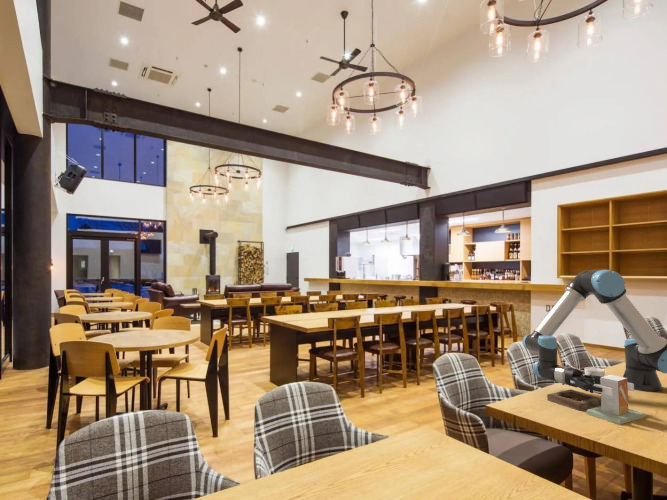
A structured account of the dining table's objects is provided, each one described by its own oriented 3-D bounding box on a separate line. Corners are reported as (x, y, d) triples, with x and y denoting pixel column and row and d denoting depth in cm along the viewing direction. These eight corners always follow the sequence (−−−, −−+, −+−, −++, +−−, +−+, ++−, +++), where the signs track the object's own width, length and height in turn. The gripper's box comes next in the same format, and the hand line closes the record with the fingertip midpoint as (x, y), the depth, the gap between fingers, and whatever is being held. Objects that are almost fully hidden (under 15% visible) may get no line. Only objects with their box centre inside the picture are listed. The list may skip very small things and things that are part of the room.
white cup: (605, 390, 184) (604, 368, 185) (605, 394, 178) (605, 372, 178) (585, 387, 189) (584, 366, 189) (585, 391, 182) (584, 369, 182)
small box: (619, 416, 148) (618, 381, 148) (601, 411, 153) (599, 377, 154) (629, 411, 152) (627, 377, 152) (610, 407, 157) (609, 374, 158)
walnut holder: (571, 395, 177) (570, 389, 177) (603, 404, 165) (603, 398, 165) (547, 400, 170) (547, 394, 170) (579, 410, 158) (579, 404, 158)
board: (611, 407, 161) (610, 403, 161) (644, 417, 150) (644, 413, 150) (586, 413, 154) (586, 409, 154) (619, 424, 143) (619, 420, 143)
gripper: (587, 381, 174) (642, 395, 155) (550, 389, 163) (603, 404, 144) (587, 364, 174) (641, 375, 155) (549, 370, 164) (602, 384, 145)
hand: (623, 389), depth 150 cm, fingers open, 13 cm apart
